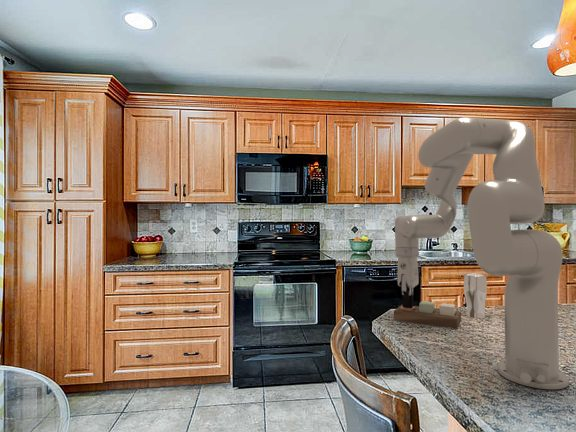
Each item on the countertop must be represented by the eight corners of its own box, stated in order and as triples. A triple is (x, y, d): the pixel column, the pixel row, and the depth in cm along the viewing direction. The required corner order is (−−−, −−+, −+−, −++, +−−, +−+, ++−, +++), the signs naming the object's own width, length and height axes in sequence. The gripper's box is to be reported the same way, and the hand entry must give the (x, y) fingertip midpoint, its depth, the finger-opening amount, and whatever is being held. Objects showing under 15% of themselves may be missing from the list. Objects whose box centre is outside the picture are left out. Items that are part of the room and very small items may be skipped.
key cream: (453, 317, 110) (453, 307, 110) (439, 315, 112) (439, 305, 112) (455, 314, 113) (455, 304, 113) (441, 313, 116) (441, 303, 116)
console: (457, 332, 107) (457, 318, 107) (393, 322, 117) (393, 310, 117) (461, 323, 115) (461, 311, 115) (401, 315, 125) (401, 304, 125)
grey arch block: (488, 317, 122) (487, 274, 122) (486, 322, 116) (485, 277, 116) (465, 315, 126) (464, 272, 126) (463, 319, 120) (462, 275, 120)
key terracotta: (412, 319, 117) (412, 309, 117) (400, 317, 119) (400, 307, 119) (415, 316, 120) (415, 306, 120) (403, 314, 122) (403, 305, 122)
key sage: (432, 314, 113) (432, 304, 113) (419, 313, 115) (419, 303, 115) (434, 312, 117) (434, 302, 117) (422, 310, 119) (421, 301, 119)
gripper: (413, 254, 111) (414, 313, 111) (423, 251, 124) (424, 303, 124) (389, 254, 115) (390, 310, 115) (401, 250, 128) (402, 301, 128)
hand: (407, 306), depth 119 cm, fingers closed
